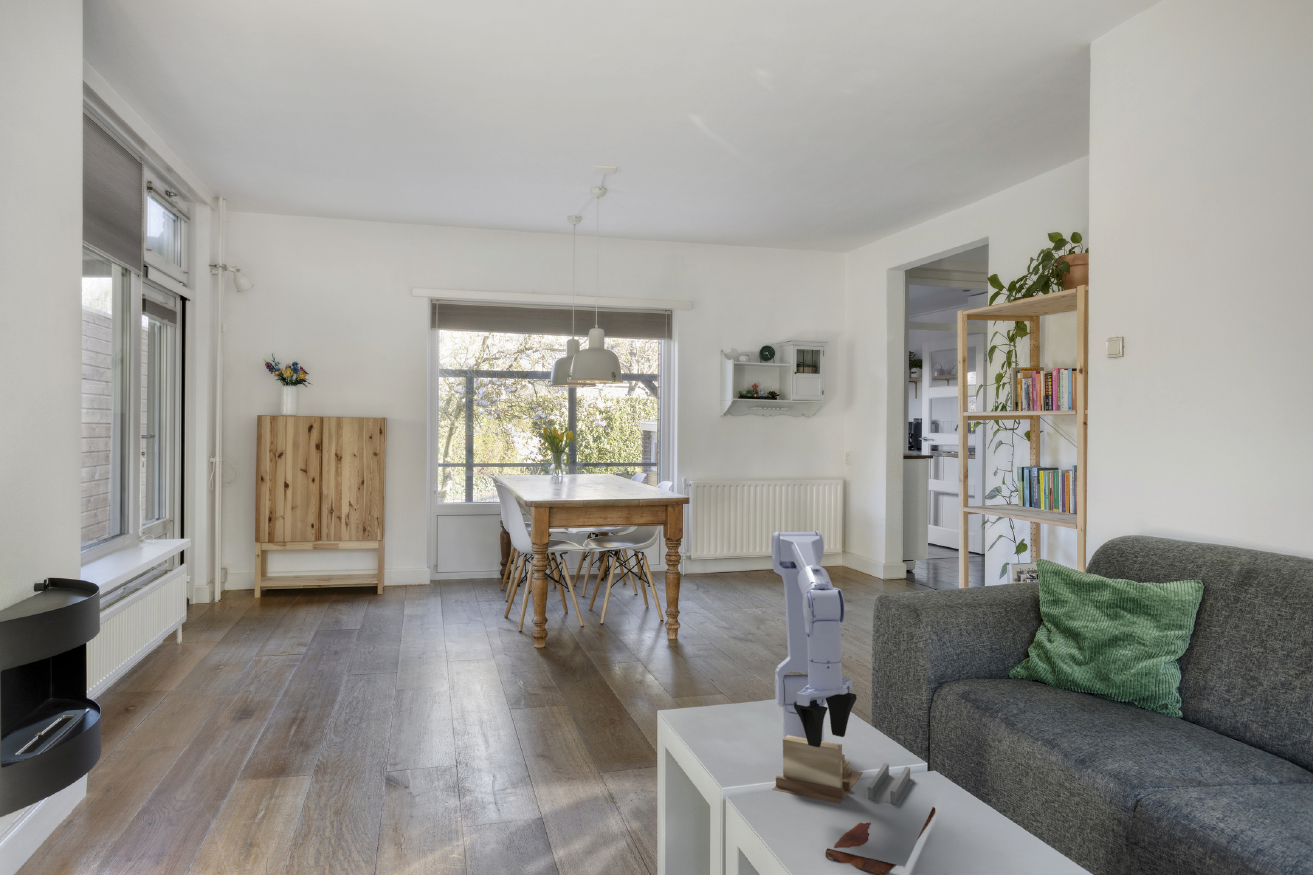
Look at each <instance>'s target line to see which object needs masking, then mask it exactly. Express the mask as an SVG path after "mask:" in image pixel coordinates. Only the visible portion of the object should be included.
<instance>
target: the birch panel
mask: <svg viewBox="0 0 1313 875" xmlns="http://www.w3.org/2000/svg"><path fill="white" fill-rule="evenodd" d="M842 754H843V744H841V743H835V742H830V741H825V740H824V741H822V742H821V746H820V747H814V746H810V745H808V742H807V738H801V737H795V736H789V735H787V736H786V737H785V738H784V739H783V738H782V766H783V767H782V773H783V775H782V777H786V778H792V779H797V780H802V781H807V782H812V783H817V784H822V785H827V786H832V787H838V788H843V780H842Z"/></svg>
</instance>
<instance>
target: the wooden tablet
mask: <svg viewBox="0 0 1313 875" xmlns="http://www.w3.org/2000/svg"><path fill="white" fill-rule="evenodd" d="M935 814H936V807H934V806H933V807H932V808H931V811H930V812H929V814H928V815H927V818H926V820H925V823H924V825H923V827H922V829H921V831H920V833H919V835H918V838H917V840H919V838H920V837H921V836H922V834H923V833H924V831H925V830H926V828H927V827H928V826H929V824H930V823H931V821H932V820H933V817H934V816H935ZM871 825H872V823H871V822H870V821H869V822H865V823H863V822H859V823H857V824H856V825H855V826H854V827H853V828H851V829H850V830H848V831H846V832H845V833H844V834H843V835H842V836H841V837H839V839H838V841H837V842H835V843H834V846H833V848H834V849H833V848H826V850H825V857H826V858H827V859H828V860H830V861H833V862H837V863H841V864H850V865H852V866H853V867H855V869H858V870H860V871H863V872H864V873H865V872H866V873H868V874H872V875H886V874H888V873H889V872H890V871H891V870H893V869H894V868H895V867H896V866H897V863H896V864H895V863H893V862H892V863H891V862H886V861H884V860H883V861H882V860H878V859H876V858H870V857H867V856H863V855H862V856H861V855H857V854H853V853H849V852H844V851H840V850H836V849H840V848H844V849H847V848H848V849H849V848H852V847H861V846H864V845H865V844H866V843H868V841H869V839H870V838H869V837H870V835H871V833H870V832H869V829H870V827H871Z"/></svg>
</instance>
